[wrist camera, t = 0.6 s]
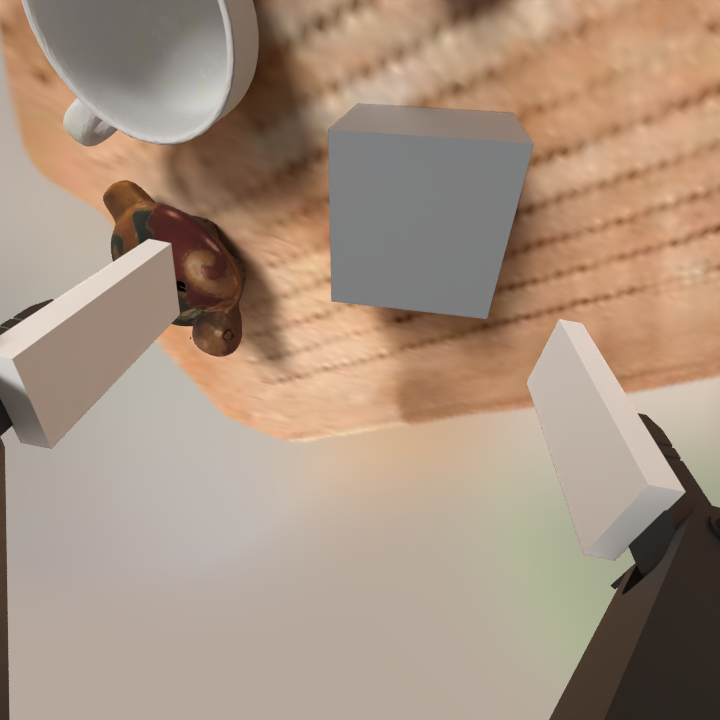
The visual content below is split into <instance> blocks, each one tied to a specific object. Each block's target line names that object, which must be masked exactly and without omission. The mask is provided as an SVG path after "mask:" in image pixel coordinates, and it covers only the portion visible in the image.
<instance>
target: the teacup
mask: <svg viewBox="0 0 720 720" xmlns="http://www.w3.org/2000/svg"><path fill="white" fill-rule="evenodd" d="M22 3H23V7H24V10H25V13H26V15H27V18H28V21H29V24H30V26H31V29H32V31H33V32H34V34H35V36H36V39H37V41H38V43H39V45H40V47H41V49H42V50H43V52H44V54H45V56H46V57H47V59H48V60H49V62H50V63H51V65H52V67H53V68H54V69H55V71H56V72H57V73H58V75H59V76H60V77H61V79H62V80H63V81H64V83H65V84H66V85H67V86H68V88H69V89H70V90H71V91H72V93H73V94H74V95H75V96H76V97H77V99H76V100H75V101H74V102H73V103H72V105H71V106H70V107H69V108H68V110H67V112H66V113H65V116H64V119H63V124H64V127H65V129H66V131H67V132H68V133H69V135H70V136H72V137H73V138H74V139H75V140H76V141H77V142H79V143H81V144H83V145H85V146H94V145H97V144H99V143H101V142H103V141H104V140H106V139H108V138H109V137H110V136H111V135H112V134H114V133H115V132H116V131H117V130H119V131H121V132H122V133H124V134H126V135H128V136H130V137H132V138H135V139H138V140H141V141H144V142H148V143H153V144H160V145H173V144H180V143H184V142H188V141H190V140H192V139H194V138H196V137H198V136H200V135H202V134H203V133H205V132H206V131H207V130H208V129H209V128H210V127H211V126H212V125H213V124H215V123H216V122H218V121H219V120H220V119H222V118H223V117H224V116H226V115H227V114H228V113H229V112H230V111H232V110H233V109H234V108H235V107H236V106H237V105H238V103H239V102H240V101H241V100H242V98H243V97H244V95H245V94H246V92H247V90H248V88H249V86H250V84H251V82H252V79H253V77H254V73H255V70H256V65H257V60H258V49H259V33H258V24H257V16H256V12H255V8H254V3H253V0H22Z"/></svg>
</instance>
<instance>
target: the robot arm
mask: <svg viewBox="0 0 720 720" xmlns="http://www.w3.org/2000/svg"><path fill="white" fill-rule="evenodd" d="M179 315H180V310H179V302H178V294H177V286H176V278H175V270H174V262H173V254H172V246H171V243H167V242H162V241H157V240H152V239H148V240H146V241H145V242H143V243H141V244H140V245H138V246H137V247H135V248H134V249H132V250H131V251H129V252H128V253H126V254H125V255H123V256H121V257H120V258H118V259H117V260H115V261H114V262H112V263H111V264H109V265H108V266H106V267H105V268H103V269H101V270H100V271H98V272H97V273H95V274H94V275H92V276H91V277H89V278H88V279H86V280H85V281H83V282H82V283H80V284H78V285H77V286H75V287H74V288H73V289H71V290H69V291H68V292H66V293H65V294H63V295H62V296H60V297H58V298H57V299H55V300H52V299H51V300H48V301H45V302H42V303H39V304H36V305H33V306H31V307H29V308H27V309H25V310H24V311H22V312H21V313H19V314H17V315H16V316H14V319H10V320H8V321H6V322H5V323H3V324H1V326H0V436H1V435H2V434H3V433H4V432H6V431H7V430H8V429H9V428H10V427H11V426H13V428H14V430H15V432H16V434H17V436H18V438H19V440H20V442H21V443H25V444H30V445H35V446H40V447H45V448H50V449H52V448H53V447H54V445H56V443H57V442H58V441H59V440H60V439H61V438H62V437H63V436H64V435H65V434H66V433H67V432H68V431H69V430H70V429H71V428H72V427H73V426H74V425H75V424H76V423H77V422H78V421H79V420H80V418H81V417H82V416H83V415H84V414H85V413H86V412H87V411H88V410H89V409H90V408H91V407H92V406H93V405H94V404H95V403H96V402H97V401H98V400H99V399H100V397H101V396H102V395H103V394H104V393H105V392H106V391H107V390H108V389H109V388H110V387H111V386H112V385H113V384H114V383H115V382H116V381H117V380H118V379H119V377H121V376H122V374H123V373H124V372H125V371H126V370H127V369H128V368H129V367H130V366H131V365H132V364H133V363H134V362H135V361H136V360H137V359H138V358H139V356H141V355H142V354H143V352H144V351H145V350H146V349H147V348H148V347H149V346H150V345H151V344H152V343H153V342H154V341H155V340H156V339H157V338H158V337H159V336H160V335H161V334H162V333H163V332H164V330H165V329H166V328H167V327H168V326H169V325H170V324H171V323H172V322H173V321H174V320H175V319H176V318H177V317H178V316H179ZM527 385H528V388H529V391H530V394H531V397H532V400H533V403H534V406H535V409H536V412H537V415H538V418H539V421H540V424H541V427H542V430H543V433H544V436H545V439H546V442H547V445H548V448H549V451H550V454H551V457H552V460H553V463H554V467H555V470H556V473H557V475H558V479H559V481H560V485H561V487H562V491H563V493H564V497H565V500H566V503H567V506H568V509H569V512H570V515H571V518H572V521H573V524H574V527H575V530H576V533H577V536H578V539H579V542H580V545H581V548H582V551H583V554H584V555H589V556H594V557H599V558H604V559H609V560H614V561H615V560H616V559H617V558H618V557H619V556H620V555H621V554H622V553H623V552H624V551H625V550H626V549H627V548H628V547H629V548H630V551H631V553H632V555H633V558H634V560H635V562H636V563H635V564H634V565H633V566H632V567H630V568H629V569H628V570H627V571H626V572H625V573H624V574H623V575H622V576H621V577H619V579H617V580H616V581H615V582H614V583H613V584H612V585H611V586H612V587H613V588H614V589H616V588H618V589H617V591H616V593H615V595H614V597H613V599H612V601H611V603H610V604H609V606H608V608H607V610H606V612H605V614H604V616H603V618H602V620H601V622H600V624H599V626H598V627H597V630H596V631H595V633H594V635H593V637H592V639H591V641H590V643H589V645H588V646H587V649H586V650H585V652H584V654H583V656H582V658H581V660H580V662H579V664H578V666H577V668H576V670H575V671H574V673H573V675H572V677H571V679H570V681H569V683H568V685H567V687H566V689H565V691H564V692H563V694H562V696H561V698H560V700H559V702H558V704H557V706H556V708H555V710H554V712H553V714H552V715H551V718H550V719H549V720H720V508H719V507H715V506H712V505H711V503H710V502H709V501H708V499H707V497H706V496H705V494H704V493H703V492H702V490H701V488H700V487H699V485H698V484H697V482H696V481H695V479H694V478H693V476H692V475H691V473H690V472H689V470H688V469H687V467H686V466H685V464H684V462H683V461H680V457H679V455H678V453H677V452H676V450H675V449H674V448H672V444H671V442H670V441H669V439H668V438H667V436H666V435H665V433H664V432H663V430H662V429H661V428H660V427H659V426H658V425H656V424H655V423H654V422H653V421H652V420H651V419H650V418H649V417H648V416H647V415H643V414H639V413H637V412H636V410H635V409H634V407H633V405H632V404H631V402H630V400H629V399H628V397H627V396H626V394H625V392H624V391H623V389H622V387H621V386H620V384H619V383H618V381H617V379H616V378H615V376H614V374H613V373H612V371H611V370H610V368H609V366H608V365H607V363H606V361H605V360H604V358H603V357H602V355H601V353H600V352H599V350H598V348H597V347H596V345H595V344H594V342H593V340H592V339H591V337H590V335H589V334H588V332H587V331H586V329H585V327H584V326H583V324H582V323H577V322H571V321H566V320H561V319H559V321H558V323H557V325H556V327H555V329H554V331H553V333H552V334H551V336H550V338H549V340H548V342H547V344H546V346H545V348H544V350H543V352H542V354H541V356H540V358H539V360H538V362H537V363H536V365H535V367H534V369H533V371H532V373H531V375H530V377H529V379H528V381H527ZM5 492H6V491H5V447H4V444H3V442H2V440H1V438H0V720H9V678H8V677H9V676H8V675H9V673H8V617H7V615H8V611H7V557H6V556H7V551H6V494H5Z"/></svg>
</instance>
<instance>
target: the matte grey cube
mask: <svg viewBox="0 0 720 720" xmlns="http://www.w3.org/2000/svg"><path fill="white" fill-rule="evenodd" d="M328 143H329V196H330V249H331V301H334V302H342V303H351V304H360V305H369V306H377V307H386V308H395V309H403V310H412V311H421V312H430V313H438V314H447V315H456V316H465V317H473V318H482V319H487V317H488V313H489V310H490V306H491V302H492V298H493V295H494V291H495V287H496V284H497V280H498V276H499V272H500V269H501V265H502V261H503V258H504V254H505V250H506V246H507V243H508V239H509V235H510V232H511V228H512V224H513V220H514V217H515V213H516V209H517V205H518V202H519V198H520V194H521V191H522V187H523V183H524V179H525V176H526V172H527V168H528V165H529V161H530V157H531V153H532V150H533V146H534V142H533V141H532V140H531V138H530V137H529V135H528V134H527V132H526V131H525V129H524V128H523V126H522V125H521V123H520V122H519V121H518V119H517V118H516V116H515V115H514V113H508V112H492V111H475V110H458V109H441V108H424V107H408V106H391V105H374V104H357V105H356V106H354V107H353V108H352V109H351V110H350V111H349V112H348V113H346V114H345V115H344V116H343V117H342V118H341V119H340V120H339V121H337V122H336V123H335V124H334V125H333V126H332V127H331V128H330V129H328Z"/></svg>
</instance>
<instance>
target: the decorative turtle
mask: <svg viewBox="0 0 720 720" xmlns="http://www.w3.org/2000/svg"><path fill="white" fill-rule="evenodd" d="M103 201H104V203H105V205H106V207H107V208H108V210H109V212H110V213H111V215H112V216H113V218H114V220H115V223H116V225H115V229H114V231H113V234H112V239H111V254H112V259H113V262H114V261H115V260H117V259H118V258H120V257H121V256H123V255H125V254H126V253H128V252H129V251H131V250H132V249H134V248H135V247H137V246H138V245H140V244H141V243H143V242H145V241H146V240H148V239H152V240H157V241H162V242H167V243H171V246H172V254H173V262H174V270H175V278H176V286H177V294H178V302H179V310H180V315H179V316H178V317H177V318H176V319H175V320H174V321H173V322H172V323H171V324H174V325H178V326H193V331H192V337H193V340H194V343H195V344H196V345H197V347H198V348H199V349H201V350H202V351H203V352H206V353H208V354H210V355H213V356H217V357H220V356H227V355H229V354H231V353H233V352H234V351H235V350H236V349H237V347H238V346H239V343H240V341H241V338H242V321H241V314H240V310H239V300H240V298H241V294H242V291H243V288H244V284H245V279H246V272H247V270H246V266H245V265H244V263H243V262H242V261H241V260H239V259H237V258H235V257H233V256H231V254H230V253H229V252H228V250H227V249H226V248H225V246H224V245H223V244H222V242H221V241H220V240H219V238H218V235H217V231H216V228H215V227H214V224H213V223H212V222H211V221H209V220H208V219H204V218H201V217H197V216H191V215H189V214H186V213H184V212H182V211H180V210H178V209H175V208H173V207H170V206H167V205H163V204H158V203H155V201H154V200H153V199H152V198H151V197H150V196H149V195H148V194H147V193H146V192H145V191H144V190H143V189H142V188H141V187H139V186H138V185H137V184H135V183H133V182H130V181H127V180H126V181H119V182H117V183H114V184H112V185H111V186H110V187H109V188H108V189H107V191H106V192H105V194H104V196H103ZM190 339H191V337H190Z"/></svg>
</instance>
